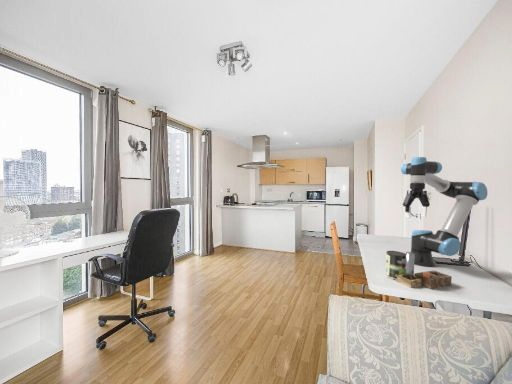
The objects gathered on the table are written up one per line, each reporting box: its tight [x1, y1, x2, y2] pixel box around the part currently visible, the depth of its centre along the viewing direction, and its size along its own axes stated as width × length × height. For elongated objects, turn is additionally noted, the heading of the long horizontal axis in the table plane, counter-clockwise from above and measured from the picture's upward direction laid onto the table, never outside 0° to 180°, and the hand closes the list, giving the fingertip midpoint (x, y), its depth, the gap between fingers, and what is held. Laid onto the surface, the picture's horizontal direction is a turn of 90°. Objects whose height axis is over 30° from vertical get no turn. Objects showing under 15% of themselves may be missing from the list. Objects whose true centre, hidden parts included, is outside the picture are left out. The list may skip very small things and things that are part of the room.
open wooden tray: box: [396, 274, 422, 288], centre depth 125 cm, size 8×8×4 cm
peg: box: [405, 251, 415, 280], centre depth 125 cm, size 4×4×16 cm
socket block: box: [414, 270, 453, 290], centre depth 125 cm, size 16×9×5 cm, turn 109°
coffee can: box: [385, 250, 406, 281], centre depth 134 cm, size 10×10×14 cm
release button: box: [422, 271, 430, 278], centre depth 123 cm, size 3×3×5 cm
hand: (415, 217), depth 139 cm, fingers open, 13 cm apart
